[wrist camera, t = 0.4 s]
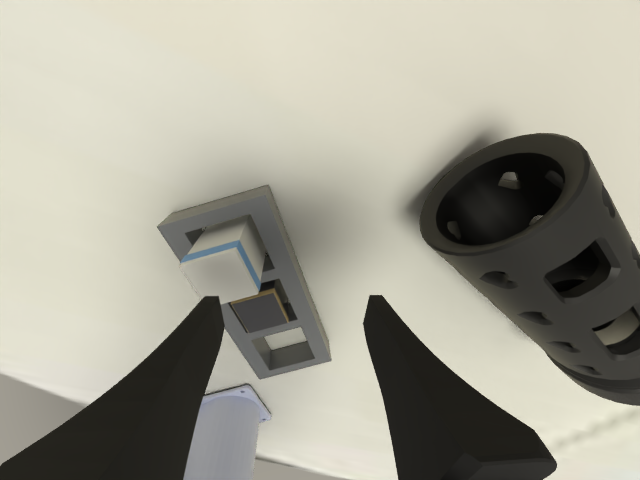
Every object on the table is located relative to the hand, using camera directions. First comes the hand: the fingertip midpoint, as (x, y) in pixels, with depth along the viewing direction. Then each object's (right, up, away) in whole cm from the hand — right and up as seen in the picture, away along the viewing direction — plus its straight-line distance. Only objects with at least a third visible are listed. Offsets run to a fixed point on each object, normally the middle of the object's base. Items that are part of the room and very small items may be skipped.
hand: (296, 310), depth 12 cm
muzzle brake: (+21, +1, +13) cm, 25 cm away
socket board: (-4, -1, +12) cm, 13 cm away
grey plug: (-6, +4, +9) cm, 11 cm away
